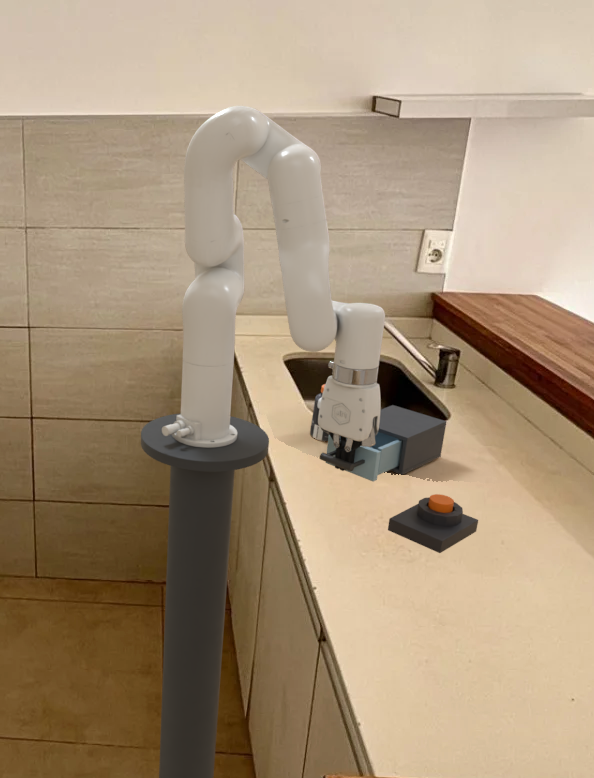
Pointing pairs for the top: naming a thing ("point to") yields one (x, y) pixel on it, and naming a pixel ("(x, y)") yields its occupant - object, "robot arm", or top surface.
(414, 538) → the control block
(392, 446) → the blue drawer
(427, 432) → the drawer cabinet
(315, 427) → the pill bottle
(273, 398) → the top surface
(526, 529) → the top surface
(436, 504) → the button
